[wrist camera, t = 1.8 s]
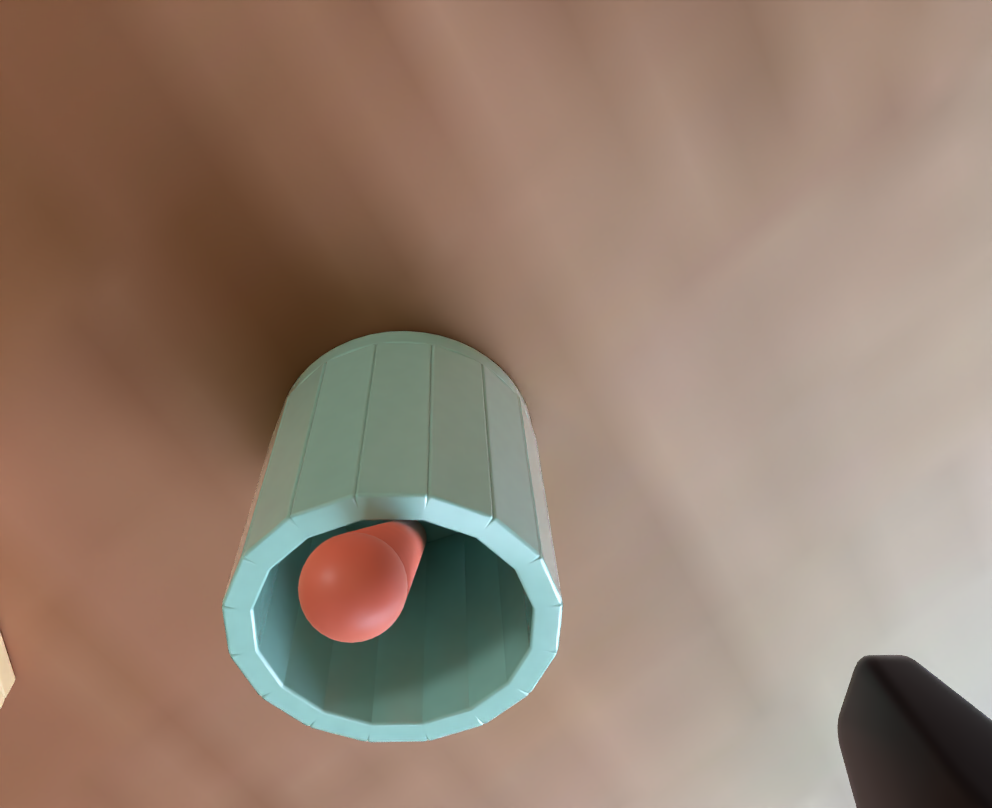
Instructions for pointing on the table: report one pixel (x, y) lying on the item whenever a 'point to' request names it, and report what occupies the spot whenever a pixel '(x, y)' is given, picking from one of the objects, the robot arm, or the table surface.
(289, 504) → the cup
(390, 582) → the red thin rounded piece
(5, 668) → the tray
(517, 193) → the table surface
